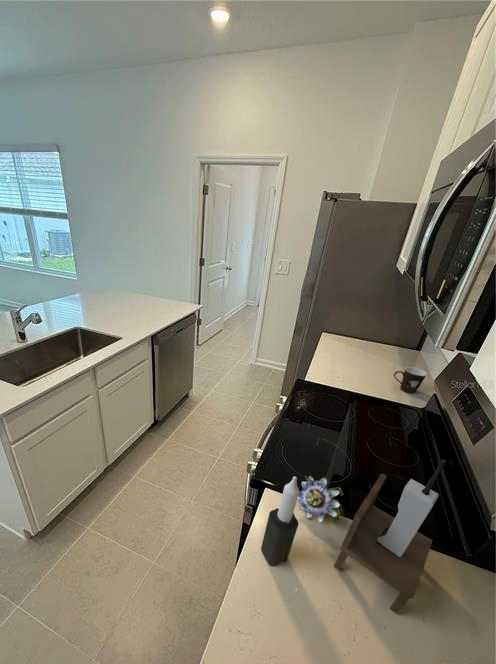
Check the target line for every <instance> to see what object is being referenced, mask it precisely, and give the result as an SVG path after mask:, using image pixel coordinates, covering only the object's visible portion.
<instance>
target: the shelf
mask: <svg viewBox="0 0 496 664" xmlns="http://www.w3.org/2000/svg"><path fill="white" fill-rule="evenodd" d="M387 477H388V476H387V475H386V474H385V473H380V475H379V477H378V478H377V480H376V481H375V482H374V485H373V486H372V488H371V489H370V491H369V492H368V494H367V495H366V497H365V499H364V500H363V502H362V503H361V505H360V507H359V508H358V510H357V511H356V513H355V514H354V517H353V518H352V521H351V523H350V524H349V525H350V526H349V528H348V530H347V532H346V535H345V537H344V538H343V541H342V543H341V546H340V548H339V550H340V551H339V554H338V556H337V558H336V560H335V562H334V565H333V567H334V568H335V569H337V570H338V571H339V572H340V571H341V570H342V568H343V567H344V565H345V563H346V560H347V559H348V557H350V558H351V559H352V560H354V561H355V562H357V563H358V564H359V565H361V566H363V567H364V568H365V569H367V570H368V571H369V572H371V573H372V574H374V575H375V576H377V577H378V578H379V579H381V580H382V581H384V582H385V583H386V584H388V585H389V586H391V587H392V588H393V589H395V590H396V591H398V592H399V593H398V594H397V595H396V597H395V598H394V600H393V601H392V603H391V605H390V606H389V607H390V608H389V610H390V611H392V612H394V614H396V615H399V614H400V612H401V611H402V610H403V608H404V607H405V606H406V605H407V603H408V601H409V600H410V601H411V600H413V598H414V597H415V596H416V591H417V589H418V587H419V583H420V580H421V576H422V575H423V571H424V568H425V565H426V563H427V559H428V556H429V553H430V549H431V547H432V544H433V539H431V538H429V537H428V536H426V535H424V534H422V533H421V532H419V531H417V532H416V534H415V535H414V537H413V539H412V540H411V542H410V543H409V545H408V547H407V548H406V550H405V551H404V553H403V555H402V556H401V557H399V556H397V555H396V554H394V553H393V552H392V551H390V550H389V549H387V548H386V547H385V546H383V545H382V544H380V543H379V542H378V541H377V539H378V537H379V535H380V534H381V533H382V531H383V530H384V528H386V527H389V526H391V524H392V522H393V521H394V519H395V517H394V516H392V515H390V514H389V513H387V512H385V511H384V510H382V509H381V508H378V507H377V506H375V505H374V504H375V502H376V500H377V499H378V496H379V494H380V492H381V490H382V487H383V485H384V483H385V481H386V479H387Z"/></svg>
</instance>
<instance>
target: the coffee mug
mask: <svg viewBox="0 0 496 664" xmlns="http://www.w3.org/2000/svg"><path fill="white" fill-rule="evenodd" d="M398 373H400V374H402V379H401V381H400V380H399V379H398V378H397V377H396V375H397V374H398ZM427 375H428V373H427V372H426V371H425V370H423V369H420V368H419V367H414V366H407V367H405V368H404V372H403V371H401V370H397V371H395V372H394V374H393V377H394V379H395V380H396V381H397V382H398V383H399V384H400V387H399V389H400V390H401V391H402V392H404V393H406V394H411V395H414V394H416V392H417V391H418V389H419V388H420V386H421V384H422V383H423V381H424V380H425V379H426V377H427Z"/></svg>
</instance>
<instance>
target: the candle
mask: <svg viewBox="0 0 496 664" xmlns="http://www.w3.org/2000/svg"><path fill="white" fill-rule="evenodd" d="M297 481H298V477H297V476H294V475H293V476H292V479H291V481H290V482H288V483H286V484H285V485H284V487H283V491H282V495H281V499H280V502H279V503H280V504H279V506H278V508H277V507H276V508H275V509H273V510H270V511H269V513H268V518H267V522H266V525H265V529H264V534H263V539H262V543H261V547H260V551H261V553H262V555H263V557H264V558H265V561H266V562H267V564H268V565H269V566H271V567H275V566H276V565H278V564H281V563H286V562H287V561H288V558H289V556H290V552H291V550H292V546H293V543H294V540H295V536H296V533H297V531H298V527H299V521H298V518H297V517H296V515H295V513H294V511H295V507H296V504H297V502H298V500H297V498H298V495H299V492H300V488H299V487H298V483H297Z"/></svg>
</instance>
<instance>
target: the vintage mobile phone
mask: <svg viewBox="0 0 496 664" xmlns="http://www.w3.org/2000/svg"><path fill="white" fill-rule="evenodd" d="M446 463H447V460H445V459H441V461H440V463H439V464H438V466H437V468H436V470H435V471H434V473H433V475H432V476H431V477H430V479H429V480H428V481H427V484H426V485H424V484H422V483H420V482H418V481H416V480H414V479H413V478H410V480H409V481H408V482H407V483H406V485H404V488H403V491H402V493H401V496H400V497H399V498H400V499H399V501H398V504H397V509H398V512H397V513H396V516H395V517H394V518H395V519H394V521H393V522H392V524H391V526H389V527H386V528H384V530H383V531H382V533H381V534H380V535H379V537H378V539H377V541H378V542H379V543H380V544H382V545H383V546H385V547H386V548H387V549H389V550H390V551H392V552H393V553H394V554H396V555H397V556H399V557H401V556H402V555H403V553H404V551H405V550H406V548H407V547H408V545H409V543H410V542H411V540H412V539H413V537H414V535H415V534H416V532H419V529H420V528H421V526H422V524H424V522H425V520H426V518H427V517H428V515H429V514H430V511H431V510H432V508H433V507H434V505H435V504H436V502H437V500H438V499H439V496H440V495H439V493H438V492H436V491H434V490H432V488H433V486H434V484H435V483H436V480H437V478H438V476H439V475H440V473H441V471H442V470H443V468H444V466H445V464H446Z"/></svg>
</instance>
